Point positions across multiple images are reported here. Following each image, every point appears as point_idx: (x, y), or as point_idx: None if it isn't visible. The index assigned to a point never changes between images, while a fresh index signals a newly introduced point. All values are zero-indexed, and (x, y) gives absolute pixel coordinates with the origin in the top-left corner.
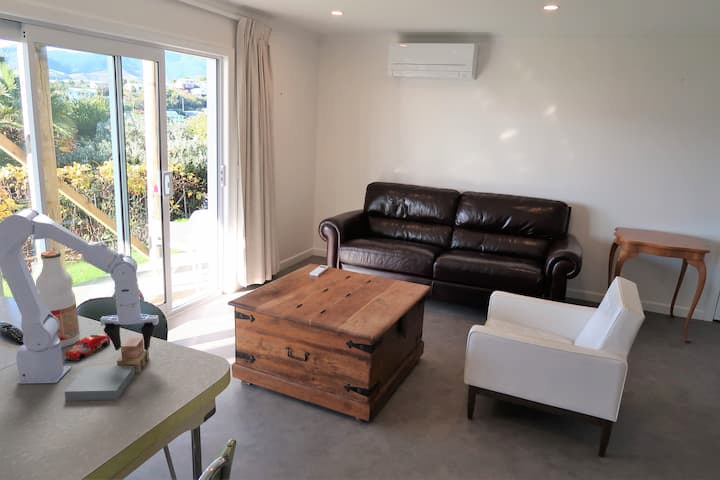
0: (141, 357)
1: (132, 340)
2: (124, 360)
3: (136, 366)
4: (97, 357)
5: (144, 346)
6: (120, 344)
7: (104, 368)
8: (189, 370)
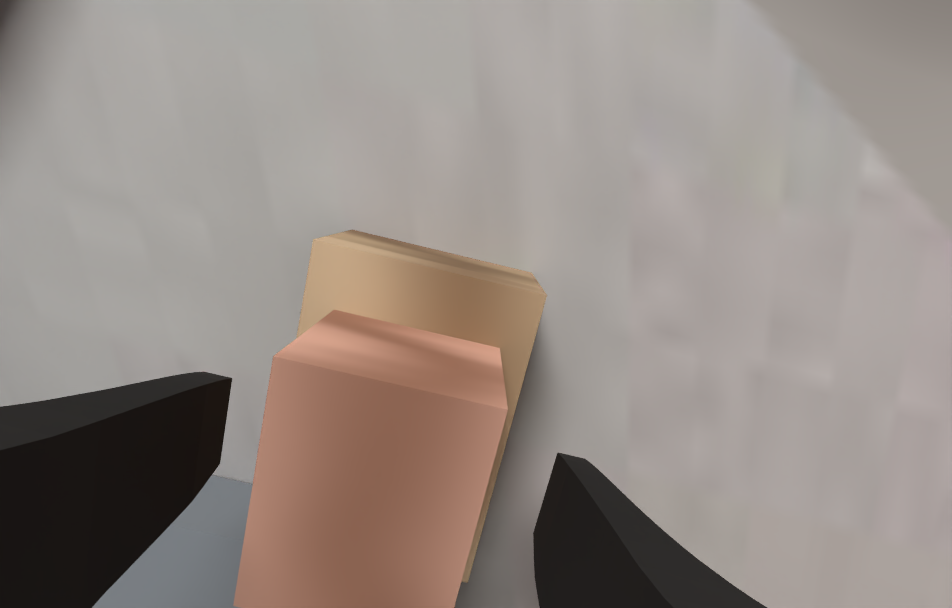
0: (489, 496)
1: (363, 459)
2: None
3: None
4: (48, 125)
5: (541, 585)
6: (210, 397)
7: (183, 561)
8: (843, 570)
